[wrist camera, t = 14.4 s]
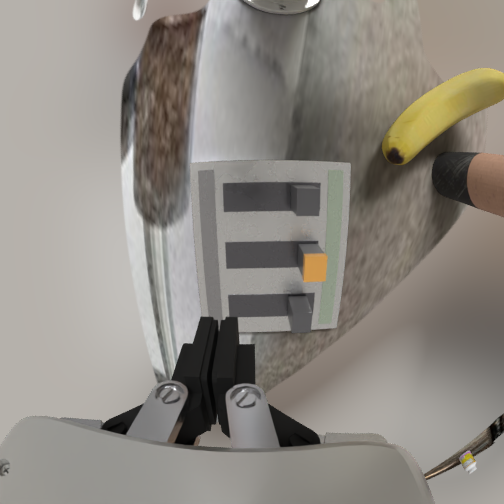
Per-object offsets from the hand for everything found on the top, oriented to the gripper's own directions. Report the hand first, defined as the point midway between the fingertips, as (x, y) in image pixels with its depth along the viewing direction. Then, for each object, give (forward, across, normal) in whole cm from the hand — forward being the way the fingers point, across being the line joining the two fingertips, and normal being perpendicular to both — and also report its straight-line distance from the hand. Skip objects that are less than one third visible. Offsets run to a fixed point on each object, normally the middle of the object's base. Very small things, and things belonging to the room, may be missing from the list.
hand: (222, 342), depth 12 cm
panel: (+25, -4, +4) cm, 26 cm away
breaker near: (+23, -7, -4) cm, 25 cm away
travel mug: (+25, -32, -8) cm, 42 cm away
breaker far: (+23, -7, +11) cm, 27 cm away
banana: (+25, -26, -16) cm, 40 cm away
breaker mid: (+23, -9, +4) cm, 25 cm away
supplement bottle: (+25, -102, +109) cm, 151 cm away
